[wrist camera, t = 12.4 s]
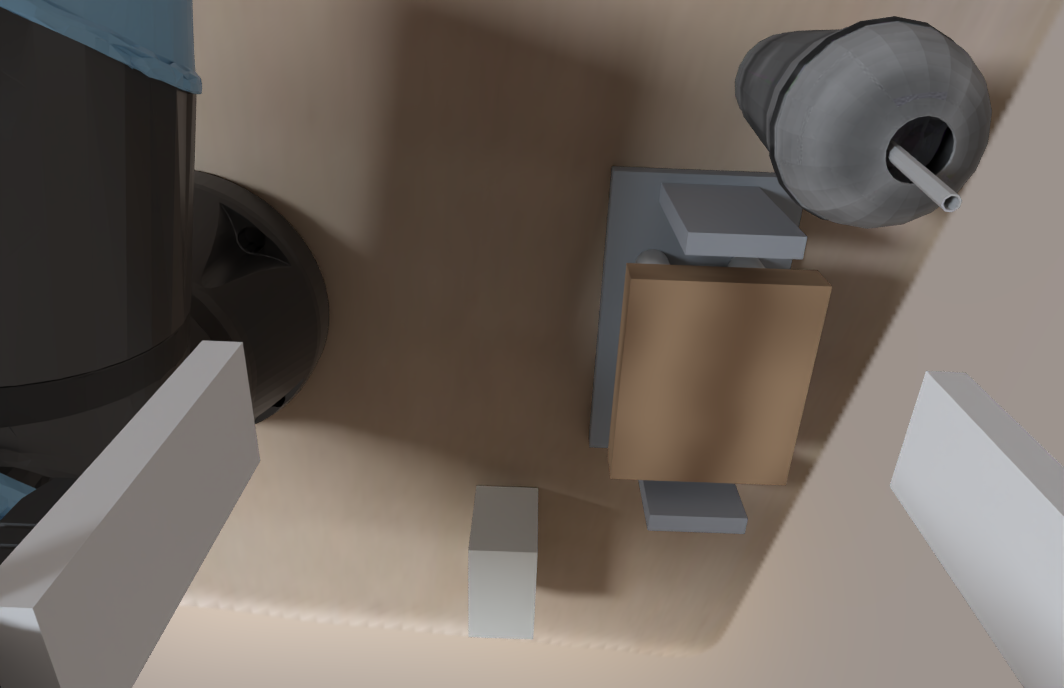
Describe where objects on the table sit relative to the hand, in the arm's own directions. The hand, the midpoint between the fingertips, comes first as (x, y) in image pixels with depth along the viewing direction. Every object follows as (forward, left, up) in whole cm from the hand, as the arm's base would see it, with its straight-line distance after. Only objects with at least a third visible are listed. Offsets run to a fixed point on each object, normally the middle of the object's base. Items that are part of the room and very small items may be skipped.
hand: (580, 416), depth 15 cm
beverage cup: (+11, +3, -27) cm, 29 cm away
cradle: (+8, -10, -27) cm, 30 cm away
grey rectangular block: (-2, -26, -27) cm, 37 cm away
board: (+8, -10, -21) cm, 24 cm away
